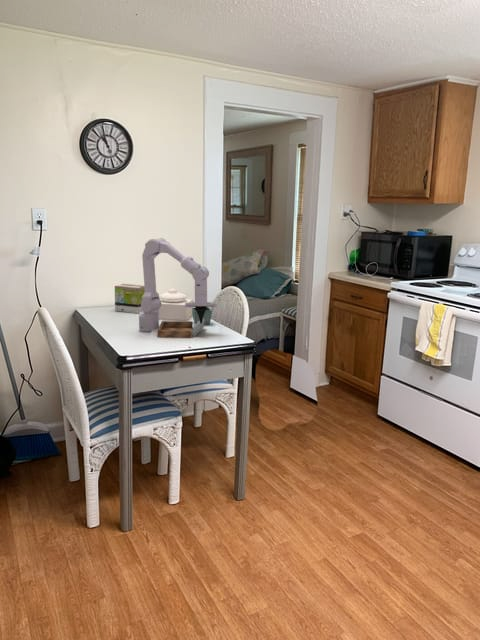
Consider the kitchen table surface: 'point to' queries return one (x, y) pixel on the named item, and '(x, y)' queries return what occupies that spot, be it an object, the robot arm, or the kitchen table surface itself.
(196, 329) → the panel
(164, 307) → the white lidded container
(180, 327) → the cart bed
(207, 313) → the flower pot
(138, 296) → the tea box
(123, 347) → the kitchen table surface
